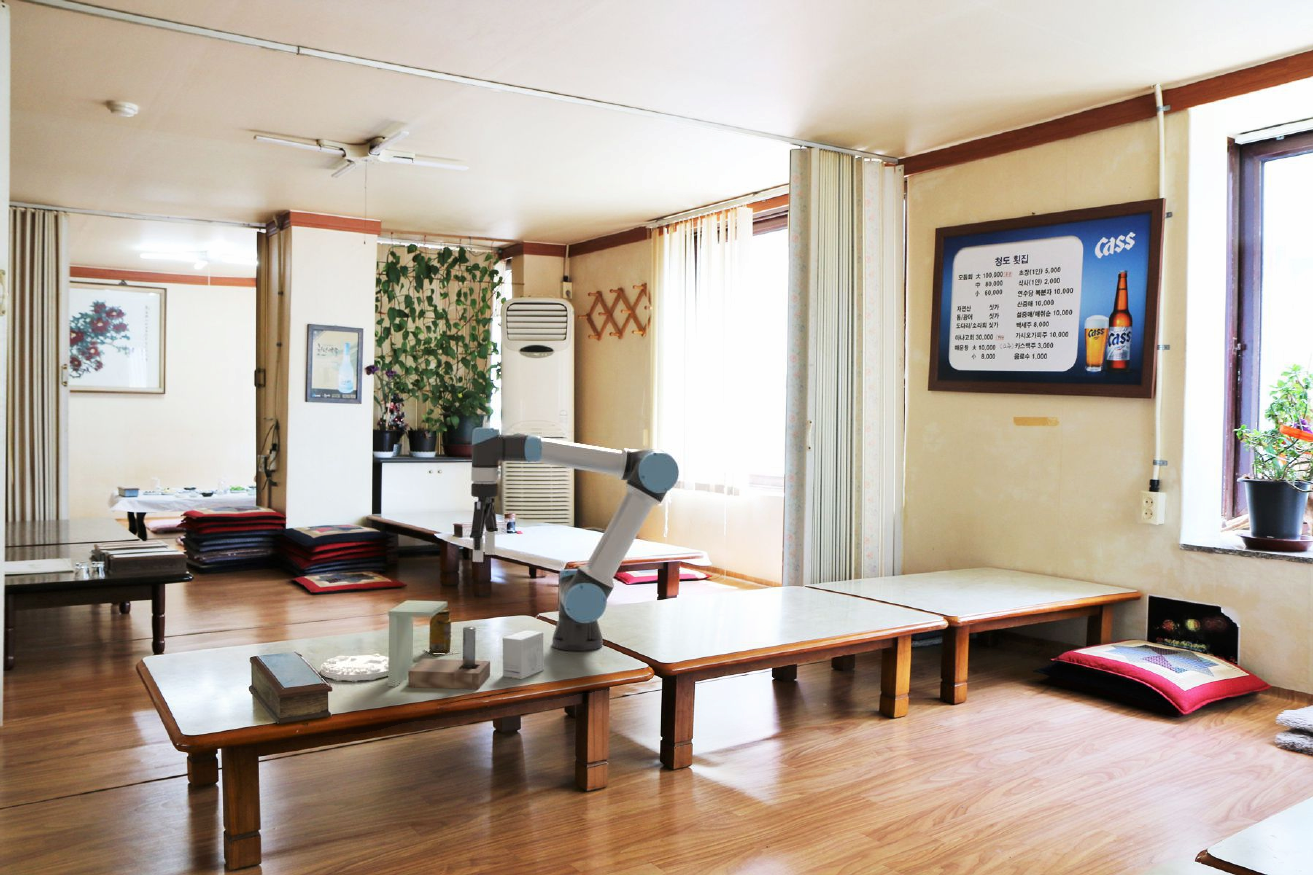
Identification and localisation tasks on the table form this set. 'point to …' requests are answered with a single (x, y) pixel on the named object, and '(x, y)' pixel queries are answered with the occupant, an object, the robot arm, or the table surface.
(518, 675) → the skincare box
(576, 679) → the table surface
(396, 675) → the pale green angled bracket
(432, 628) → the condiment
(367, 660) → the white round plaque
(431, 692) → the table surface
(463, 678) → the socket block
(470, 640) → the peg
